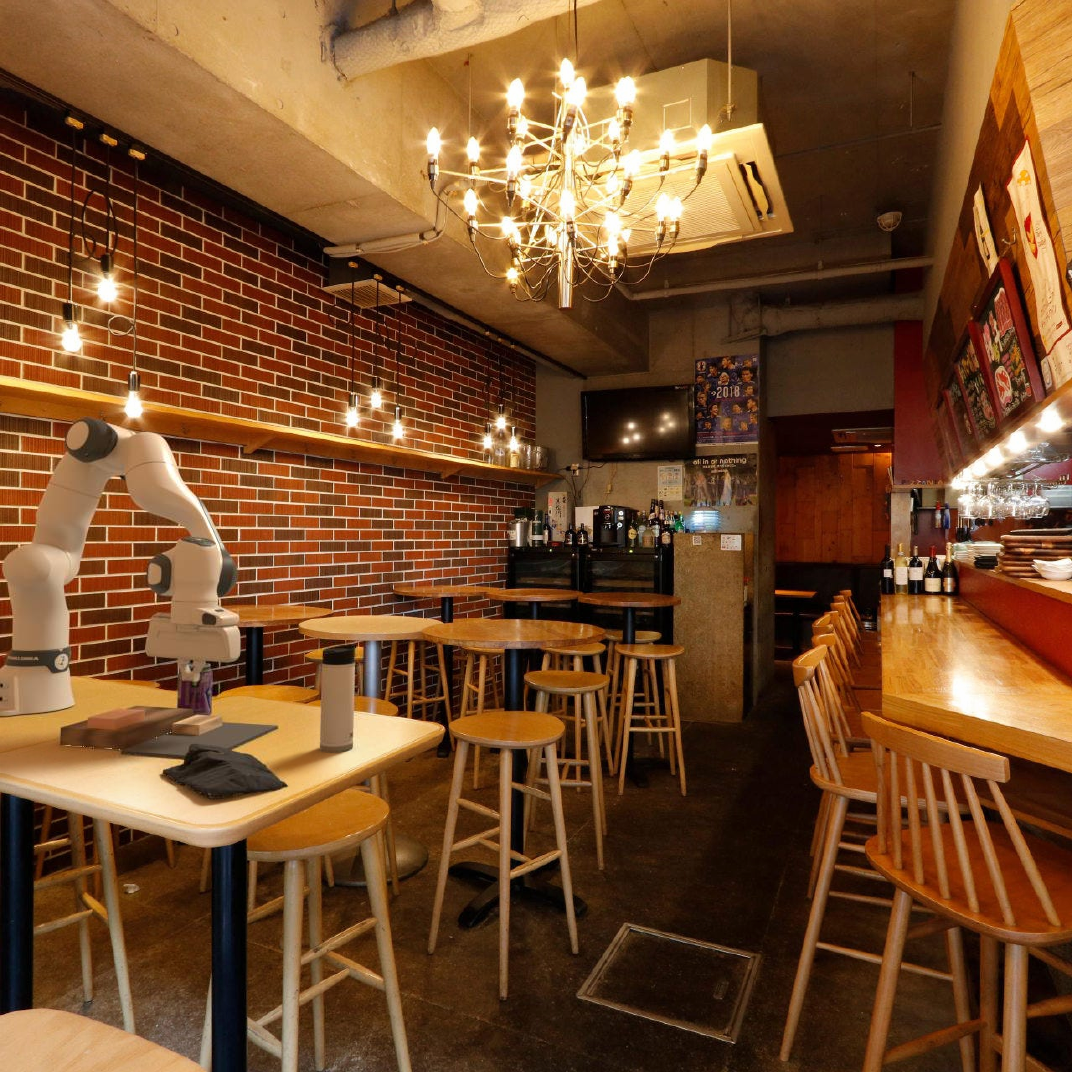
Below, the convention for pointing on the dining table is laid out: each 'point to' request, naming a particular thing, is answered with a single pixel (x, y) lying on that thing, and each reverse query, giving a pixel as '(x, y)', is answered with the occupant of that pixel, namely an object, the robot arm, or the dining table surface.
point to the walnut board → (125, 729)
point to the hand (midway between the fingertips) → (190, 680)
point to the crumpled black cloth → (223, 772)
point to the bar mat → (200, 740)
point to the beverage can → (196, 692)
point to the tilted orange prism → (116, 719)
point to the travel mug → (337, 698)
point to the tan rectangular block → (197, 724)
